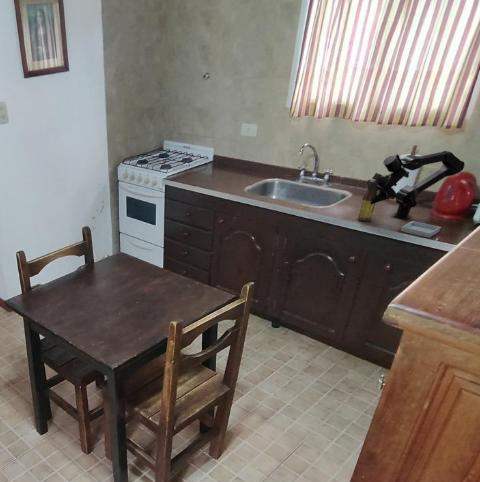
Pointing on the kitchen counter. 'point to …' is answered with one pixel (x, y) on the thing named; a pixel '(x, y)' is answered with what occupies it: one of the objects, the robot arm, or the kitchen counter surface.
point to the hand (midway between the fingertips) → (366, 201)
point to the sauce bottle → (368, 202)
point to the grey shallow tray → (420, 229)
